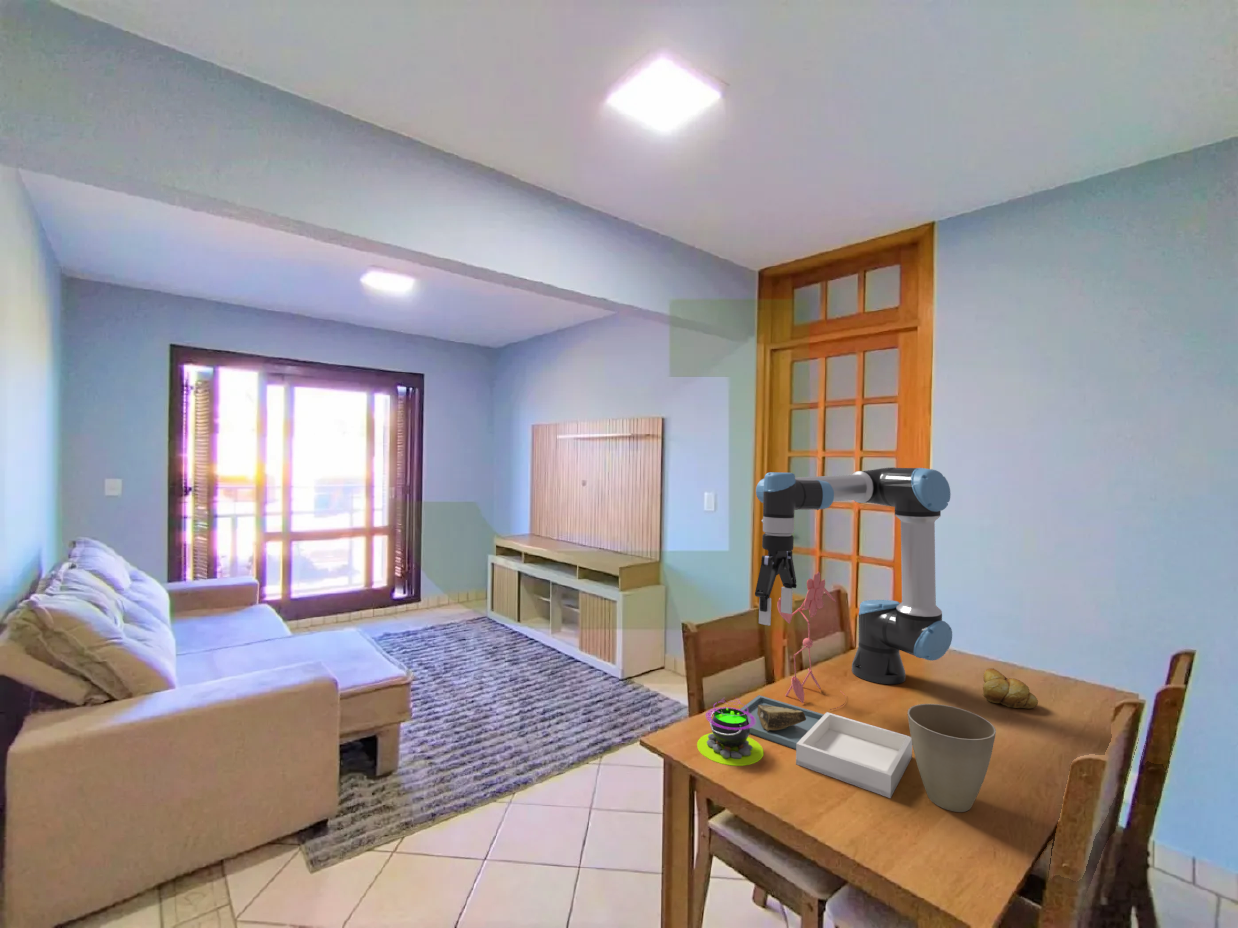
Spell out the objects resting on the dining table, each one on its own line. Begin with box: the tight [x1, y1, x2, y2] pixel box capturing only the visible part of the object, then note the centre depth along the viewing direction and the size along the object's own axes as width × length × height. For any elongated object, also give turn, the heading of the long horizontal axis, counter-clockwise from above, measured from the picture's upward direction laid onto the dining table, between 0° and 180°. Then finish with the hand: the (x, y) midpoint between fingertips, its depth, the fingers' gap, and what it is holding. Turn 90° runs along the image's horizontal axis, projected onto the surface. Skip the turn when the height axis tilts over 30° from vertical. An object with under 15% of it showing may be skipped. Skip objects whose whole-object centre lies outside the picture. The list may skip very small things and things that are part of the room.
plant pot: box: [907, 703, 997, 813], centre depth 110 cm, size 15×15×16 cm
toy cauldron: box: [696, 698, 764, 767], centre depth 128 cm, size 15×15×11 cm
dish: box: [795, 711, 913, 799], centre depth 124 cm, size 20×19×4 cm
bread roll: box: [982, 667, 1039, 709], centre depth 155 cm, size 13×10×8 cm
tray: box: [739, 694, 825, 751], centre depth 141 cm, size 19×19×2 cm
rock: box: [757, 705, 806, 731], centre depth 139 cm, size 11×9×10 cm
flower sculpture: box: [776, 571, 848, 711], centre depth 156 cm, size 15×26×35 cm, turn 135°
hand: (775, 618), depth 141 cm, fingers open, 13 cm apart
